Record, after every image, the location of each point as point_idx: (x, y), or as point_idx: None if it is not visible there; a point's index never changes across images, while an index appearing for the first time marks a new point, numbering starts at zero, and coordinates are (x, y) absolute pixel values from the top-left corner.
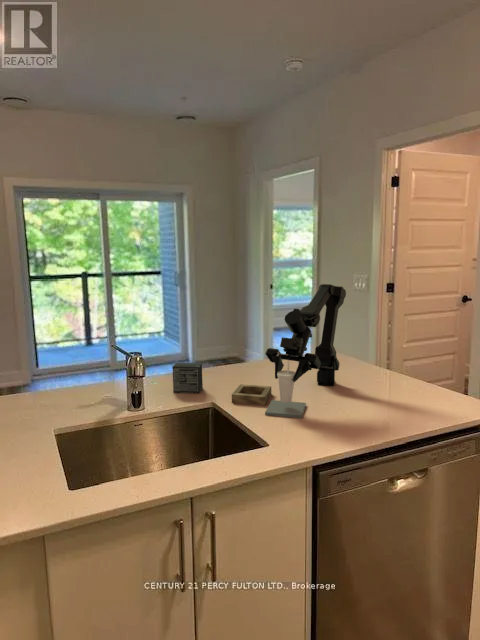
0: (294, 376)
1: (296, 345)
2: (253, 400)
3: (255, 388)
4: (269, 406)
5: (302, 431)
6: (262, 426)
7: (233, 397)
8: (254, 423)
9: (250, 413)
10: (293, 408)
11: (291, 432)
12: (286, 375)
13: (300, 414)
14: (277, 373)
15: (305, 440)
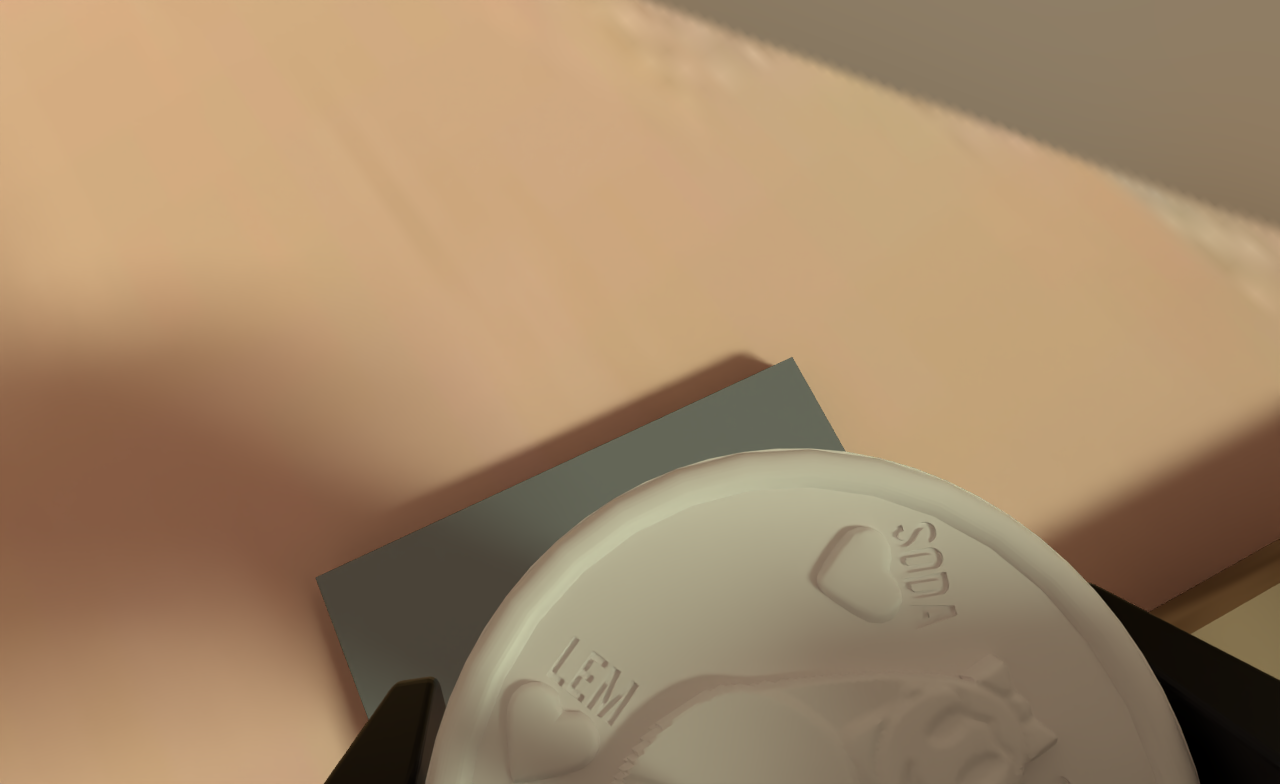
0: (389, 781)
1: None
2: (1226, 587)
3: None
4: None
5: (131, 244)
6: (588, 99)
7: None
8: (710, 110)
9: (959, 305)
10: None
11: (230, 153)
12: (644, 579)
13: (345, 598)
14: (1046, 546)
15: (5, 81)
